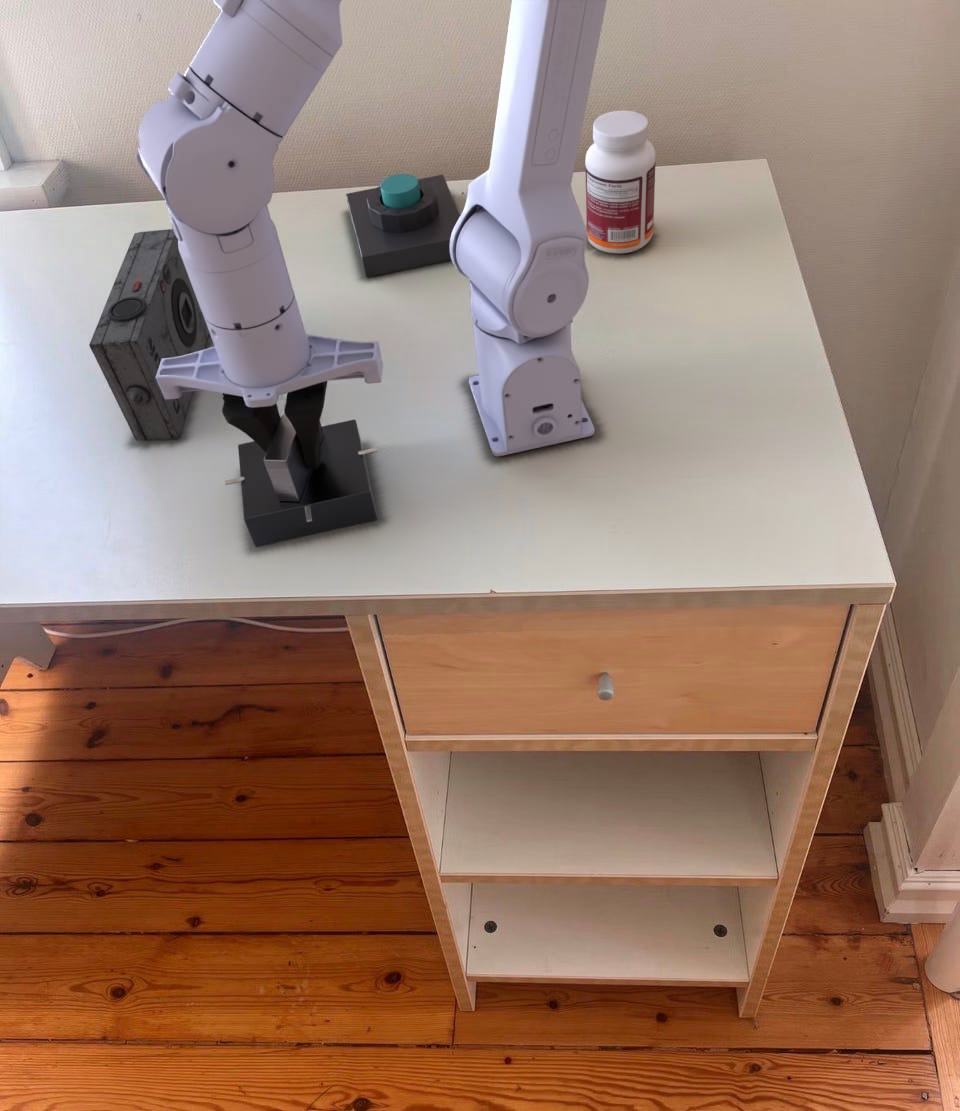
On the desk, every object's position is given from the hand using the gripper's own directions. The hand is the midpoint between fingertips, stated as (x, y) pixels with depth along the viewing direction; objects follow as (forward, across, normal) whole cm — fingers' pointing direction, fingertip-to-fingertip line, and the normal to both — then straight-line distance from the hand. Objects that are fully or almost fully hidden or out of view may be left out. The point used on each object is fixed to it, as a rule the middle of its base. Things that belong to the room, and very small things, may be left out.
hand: (300, 460), depth 70 cm
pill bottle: (+4, +26, +31) cm, 41 cm away
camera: (+4, -13, +14) cm, 20 cm away
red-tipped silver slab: (+1, 0, 0) cm, 1 cm away
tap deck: (+4, 0, 0) cm, 4 cm away
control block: (+4, +6, +35) cm, 36 cm away
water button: (0, +6, +35) cm, 35 cm away
